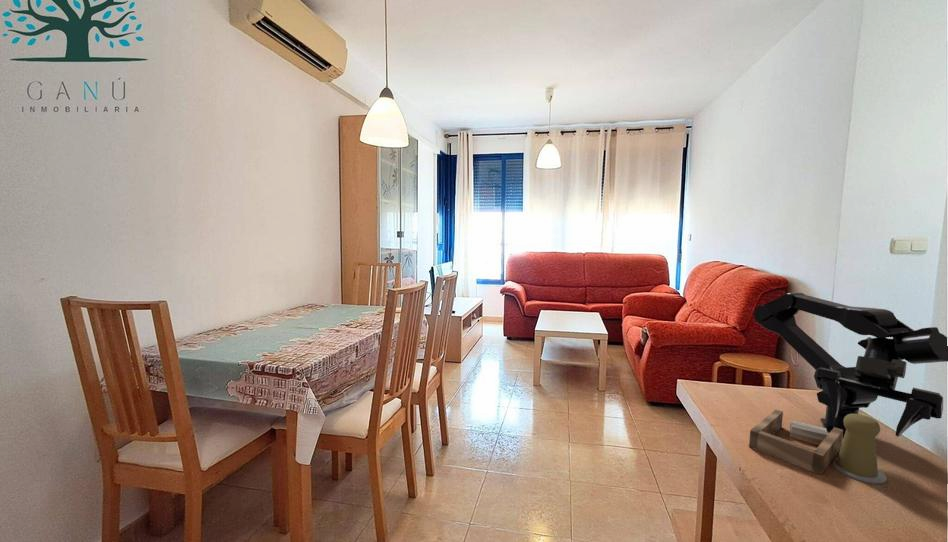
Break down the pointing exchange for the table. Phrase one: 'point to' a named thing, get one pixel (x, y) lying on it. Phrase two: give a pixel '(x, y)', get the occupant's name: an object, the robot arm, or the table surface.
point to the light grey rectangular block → (807, 432)
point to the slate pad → (877, 480)
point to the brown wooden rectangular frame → (794, 445)
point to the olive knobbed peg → (859, 446)
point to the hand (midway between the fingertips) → (864, 425)
